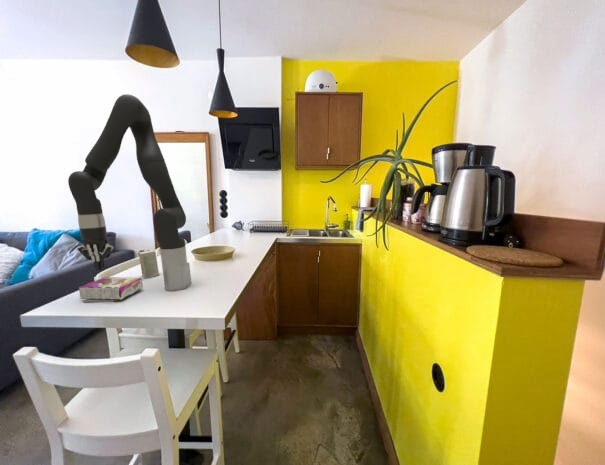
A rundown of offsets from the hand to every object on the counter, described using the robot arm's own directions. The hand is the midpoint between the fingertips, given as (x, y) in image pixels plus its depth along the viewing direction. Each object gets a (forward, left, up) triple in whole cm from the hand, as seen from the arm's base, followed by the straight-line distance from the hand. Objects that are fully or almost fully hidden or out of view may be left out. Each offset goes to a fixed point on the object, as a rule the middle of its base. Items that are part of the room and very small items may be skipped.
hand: (100, 269), depth 93 cm
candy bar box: (+3, +1, -7) cm, 7 cm away
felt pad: (-4, 0, -10) cm, 11 cm away
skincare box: (-6, -20, -10) cm, 23 cm away
